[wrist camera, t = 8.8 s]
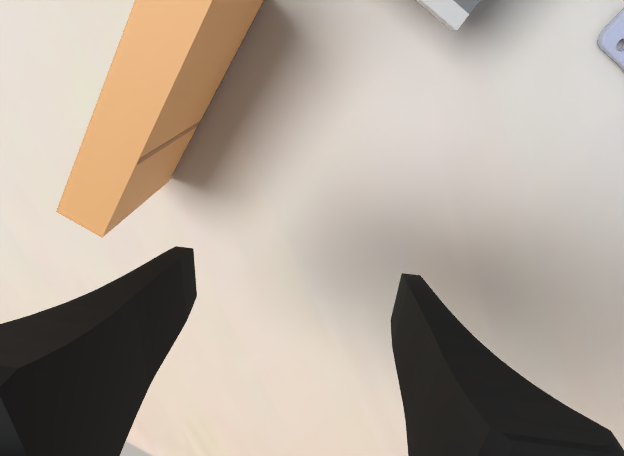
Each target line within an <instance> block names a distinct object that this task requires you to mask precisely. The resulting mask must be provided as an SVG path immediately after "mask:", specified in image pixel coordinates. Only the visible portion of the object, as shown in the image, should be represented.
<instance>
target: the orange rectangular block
mask: <svg viewBox="0 0 624 456" xmlns="http://www.w3.org/2000/svg"><path fill="white" fill-rule="evenodd" d="M263 1H264V0H135V2H134V5H133V7H132V10H131V13H130V15H129V18H128V21H127V23H126V26H125V29H124V31H123V34H122V37H121V39H120V42H119V45H118V47H117V50H116V53H115V55H114V58H113V61H112V63H111V66H110V69H109V71H108V74H107V77H106V80H105V82H104V85H103V88H102V90H101V93H100V96H99V98H98V101H97V104H96V106H95V109H94V112H93V114H92V117H91V120H90V122H89V125H88V128H87V130H86V133H85V136H84V138H83V141H82V144H81V146H80V149H79V152H78V154H77V157H76V160H75V162H74V165H73V168H72V170H71V173H70V176H69V178H68V181H67V184H66V187H65V189H64V192H63V195H62V197H61V200H60V203H59V205H58V208H57V211H56V212H58V213H59V214H61V215H63V216H65V217H67V218H68V219H70V220H72V221H74V222H75V223H77V224H79V225H81V226H83V227H84V228H86V229H88V230H90V231H91V232H93V233H95V234H97V235H98V236H100V237H103V236H105V235H106V234H107V233H108V232H109V231H110V230H112V229H113V228H114V227H115V226H116V225H118V224H119V223H120V222H121V221H122V220H123V219H125V218H126V217H127V216H128V215H129V214H131V213H132V212H133V211H134V210H135V209H136V208H138V207H139V206H140V205H141V204H142V203H144V202H145V201H146V200H147V199H148V198H149V197H151V196H152V195H153V194H154V193H155V192H157V191H158V190H159V189H160V188H161V187H162V186H164V185H165V184H166V183H167V182H168V181H169V180H170V178H171V176H172V174H173V172H174V170H175V168H176V166H177V164H178V163H179V161H180V159H181V157H182V155H183V153H184V151H185V149H186V147H187V145H188V144H189V142H190V140H191V138H192V136H193V134H194V132H195V130H196V128H197V126H198V125H199V123H200V121H201V119H202V117H203V115H204V113H205V111H206V109H207V107H208V105H209V104H210V102H211V100H212V98H213V96H214V94H215V92H216V90H217V88H218V86H219V84H220V83H221V81H222V79H223V77H224V75H225V73H226V71H227V69H228V67H229V65H230V64H231V62H232V60H233V58H234V56H235V54H236V52H237V50H238V48H239V46H240V45H241V43H242V41H243V39H244V37H245V35H246V33H247V31H248V29H249V27H250V25H251V24H252V22H253V20H254V18H255V16H256V14H257V12H258V10H259V8H260V6H261V5H262V3H263Z"/></svg>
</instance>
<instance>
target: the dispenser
mask: <svg viewBox="0 0 624 456" xmlns="http://www.w3.org/2000/svg"><path fill="white" fill-rule="evenodd" d="M416 1H417V2H419V3H420V4H421V5H422V6H423V7H424V8H426V9H427V10H428V11H429V12H430V13H431V14H433V15H434V16H435V17H436V18H437V19H438V20H440V21H441V22H442V23H443V24H444V25H446V26H447V27H448V28H449V29H450V30H451V31H457V30H458V29H459V27H460V26H461V25H462V23H463V22H464V21H465V20H466V18H467V17H468V16H469V14H470V13H471V12H472V11H473V9H474V8H475V7H476V5H477V4H478V3H479V2H480V0H416Z"/></svg>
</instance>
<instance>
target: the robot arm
mask: <svg viewBox="0 0 624 456" xmlns="http://www.w3.org/2000/svg"><path fill="white" fill-rule="evenodd" d="M621 39H623V41H624V9H623V10H622V11H621V12H620V13H619V14H618V15H617V16H616V17H615V18H614V19H613V20H612V21H611V22H610V23H609V24H608V25H607V26H606V27H605V28H604V29H603V31H602V32H601V33H600V35H599V38H598V45H599V47H600V48H601V49H602V50H603V51H604V52H605V53H606V54H607V55H608V56H610V57H611V58H612V59H613V60H614V61H615V62H616V63H617V64H618V65H619V66H620V67H621V68H622V69H623V70H624V45H623V46H622V48H621V49H620V50H618V51H617V49H616V45H617V43H618V42H619V41H620V40H621ZM196 296H197V292H196V279H195V266H194V253H193V248H184V247H174V248H172V249H170V250H168V251H166V252H165V253H163V254H161V255H159V256H158V257H156V258H154V259H152V260H151V261H149V262H147V263H145V264H144V265H142V266H140V267H138V268H137V269H135V270H133V271H131V272H130V273H128V274H126V275H124V276H122V277H120V278H118V279H116V280H114V281H112V282H110V283H109V284H107V285H105V286H103V287H101V288H99V289H97V290H94V291H92V292H90V293H88V294H86V295H83V296H81V297H78V298H76V299H74V300H71V301H69V302H66V303H64V304H61V305H58V306H56V307H53V308H50V309H47V310H44V311H41V312H38V313H36V314H33V315H30V316H27V317H23V318H20V319H17V320H13V321H10V322H7V323H3V324H0V456H120V453H121V451H122V448H123V446H124V443H125V441H126V438H127V436H128V434H129V431H130V429H131V427H132V424H133V422H134V420H135V417H136V415H137V413H138V410H139V408H140V406H141V404H142V401H143V399H144V397H145V395H146V393H147V390H148V388H149V386H150V384H151V382H152V380H153V378H154V377H155V375H156V373H157V371H158V369H159V368H160V366H161V364H162V363H163V361H164V359H165V357H166V356H167V354H168V352H169V351H170V349H171V347H172V345H173V344H174V342H175V340H176V339H177V337H178V335H179V333H180V332H181V330H182V328H183V326H184V325H185V323H186V321H187V319H188V316H189V314H190V312H191V309H192V307H193V304H194V302H195V299H196ZM391 334H392V347H393V353H394V359H395V364H396V369H397V375H398V380H399V385H400V390H401V396H402V401H403V406H404V413H405V420H406V431H407V442H408V455H409V456H624V450H623V448H622V447H621V445H620V444H619V442H618V441H617V439H616V438H615V436H614V435H613V433H612V432H611V431H610V430H608V429H607V428H605V427H603V426H601V425H599V424H598V423H596V422H594V421H592V420H591V419H589V418H587V417H585V416H583V415H582V414H580V413H578V412H576V411H574V410H573V409H571V408H569V407H568V406H566V405H564V404H563V403H561V402H560V401H558V400H556V399H555V398H553V397H552V396H550V395H549V394H547V393H545V392H544V391H542V390H541V389H539V388H538V387H536V386H535V385H534V384H532V383H531V382H529V381H528V380H526V379H525V378H524V377H522V376H521V375H520V374H518V373H517V372H516V371H514V370H513V369H512V368H510V367H509V366H508V365H506V364H505V363H504V362H503V361H501V360H500V359H499V358H498V357H497V356H495V355H494V354H493V353H492V352H491V351H490V350H488V349H487V348H486V347H485V346H484V345H483V344H482V343H481V342H479V341H478V340H477V339H476V338H475V337H474V336H473V335H472V334H471V333H470V332H469V331H468V330H467V329H466V328H465V327H464V326H463V325H462V324H461V323H460V322H459V321H458V320H457V318H456V317H455V316H454V315H453V314H452V313H451V312H450V311H449V310H448V308H447V307H446V306H445V305H444V304H443V303H442V301H441V300H440V299H439V298H438V297H437V295H436V294H435V293H434V292H433V291H432V289H431V288H430V287H429V286H428V284H427V283H426V282H425V281H424V280H423V278H422V277H421V276H420V275H411V274H403V273H402V275H401V279H400V284H399V288H398V292H397V296H396V300H395V305H394V309H393V313H392V317H391Z"/></svg>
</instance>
